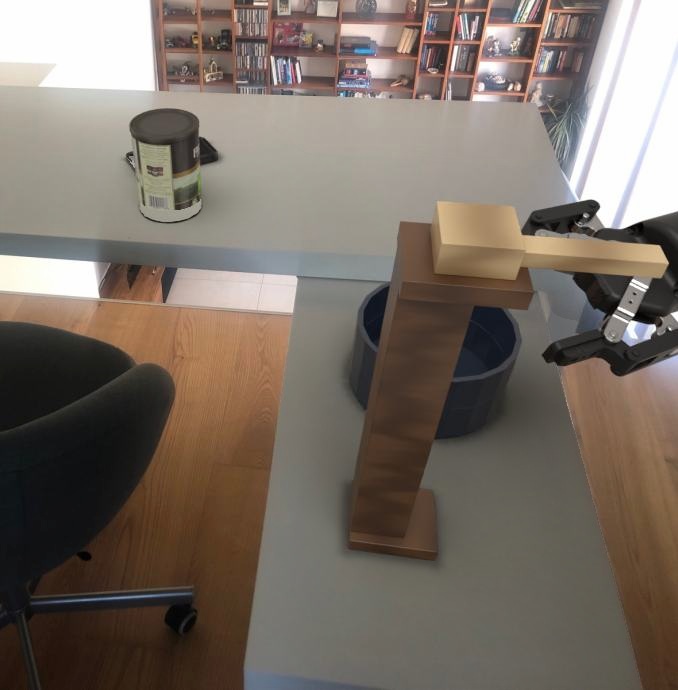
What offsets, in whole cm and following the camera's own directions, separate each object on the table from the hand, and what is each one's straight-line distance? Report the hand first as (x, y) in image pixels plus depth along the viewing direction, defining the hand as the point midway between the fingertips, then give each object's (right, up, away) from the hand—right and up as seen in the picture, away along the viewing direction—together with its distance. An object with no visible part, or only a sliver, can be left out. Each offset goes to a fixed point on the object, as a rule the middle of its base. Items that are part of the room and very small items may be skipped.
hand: (518, 306), depth 52 cm
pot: (+2, -7, +30) cm, 30 cm away
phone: (-31, +30, +70) cm, 82 cm away
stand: (-6, -20, +16) cm, 26 cm away
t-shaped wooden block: (-2, +3, -7) cm, 8 cm away
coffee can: (-30, +19, +59) cm, 69 cm away
